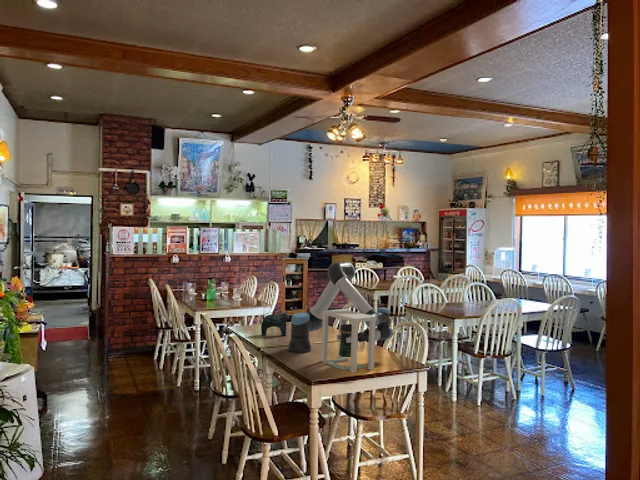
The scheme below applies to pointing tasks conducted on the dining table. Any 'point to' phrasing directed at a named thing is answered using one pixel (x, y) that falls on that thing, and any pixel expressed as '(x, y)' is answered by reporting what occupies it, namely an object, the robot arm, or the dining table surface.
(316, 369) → the dining table surface
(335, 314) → the cream stool
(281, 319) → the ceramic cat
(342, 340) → the dark green bottle
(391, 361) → the dining table surface
